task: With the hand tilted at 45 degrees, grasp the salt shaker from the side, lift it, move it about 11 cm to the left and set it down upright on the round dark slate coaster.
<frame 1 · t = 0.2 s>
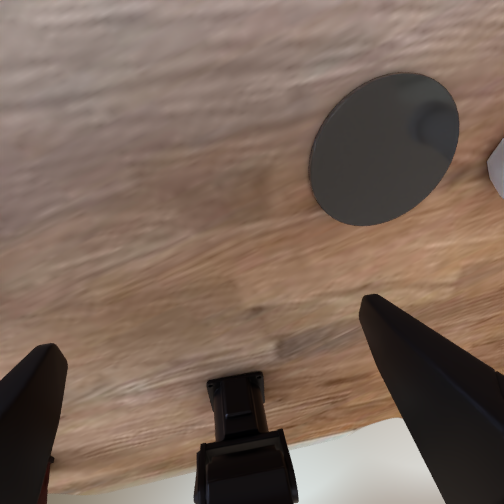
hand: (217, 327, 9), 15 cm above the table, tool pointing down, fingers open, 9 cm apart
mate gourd: (24, 461, 40), on the table
coaster: (381, 158, 23), on the table
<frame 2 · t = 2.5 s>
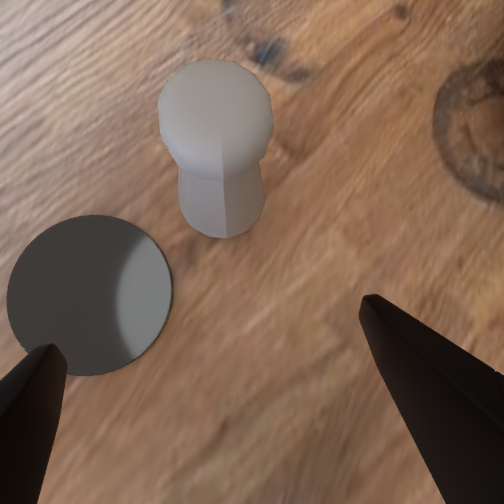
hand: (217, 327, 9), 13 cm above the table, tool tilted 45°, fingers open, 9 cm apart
salt shaker: (222, 206, 24), on the table
coaster: (93, 292, 22), on the table
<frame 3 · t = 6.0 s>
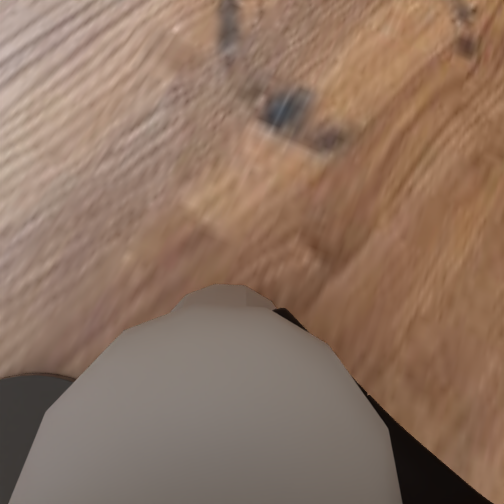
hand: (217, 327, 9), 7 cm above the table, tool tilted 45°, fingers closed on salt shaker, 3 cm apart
salt shaker: (225, 344, 16), on the table, touching gripper
coaster: (23, 503, 14), on the table
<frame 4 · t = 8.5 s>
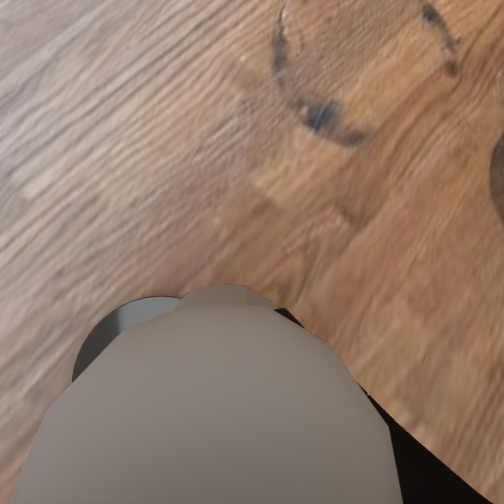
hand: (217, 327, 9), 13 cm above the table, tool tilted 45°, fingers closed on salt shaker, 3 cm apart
salt shaker: (225, 344, 16), point 6 cm above the table, touching gripper
coaster: (159, 377, 21), on the table
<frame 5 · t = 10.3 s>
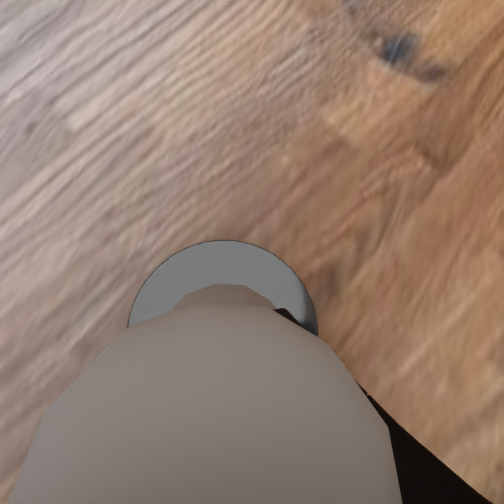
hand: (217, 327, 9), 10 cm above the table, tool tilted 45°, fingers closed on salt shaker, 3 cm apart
salt shaker: (225, 344, 16), point 3 cm above the table, touching gripper
coaster: (224, 332, 18), on the table
when the fingers open (7 cm above the table, at t = 11.3 s): salt shaker stays where it is, resting on coaster.
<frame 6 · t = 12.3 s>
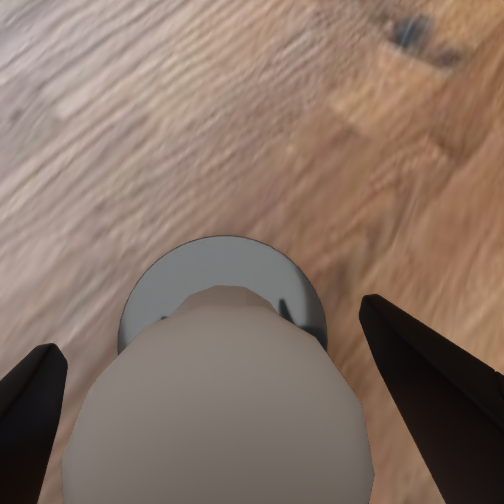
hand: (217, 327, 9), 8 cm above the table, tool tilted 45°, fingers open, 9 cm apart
salt shaker: (226, 342, 17), resting on coaster
coaster: (225, 336, 17), on the table
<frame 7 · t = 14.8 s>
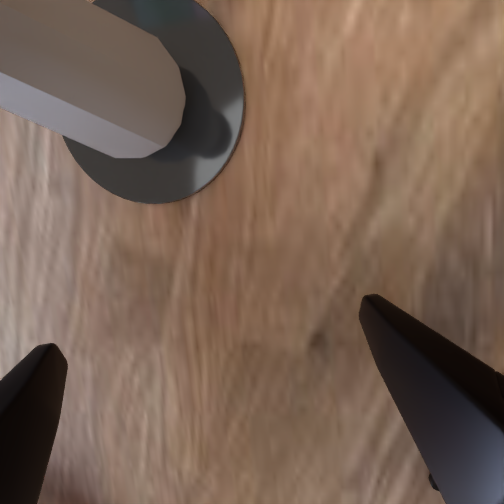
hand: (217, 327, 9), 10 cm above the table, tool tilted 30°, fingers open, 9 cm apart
salt shaker: (149, 107, 17), resting on coaster
coaster: (148, 104, 18), on the table
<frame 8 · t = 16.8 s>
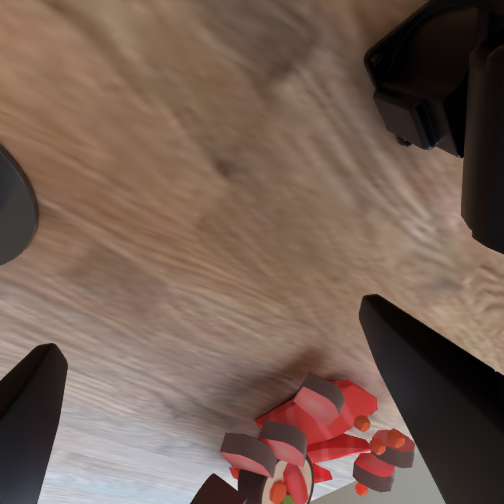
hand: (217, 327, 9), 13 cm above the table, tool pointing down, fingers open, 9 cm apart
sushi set: (284, 426, 42), on the table
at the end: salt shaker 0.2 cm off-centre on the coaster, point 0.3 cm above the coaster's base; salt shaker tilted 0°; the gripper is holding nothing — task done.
